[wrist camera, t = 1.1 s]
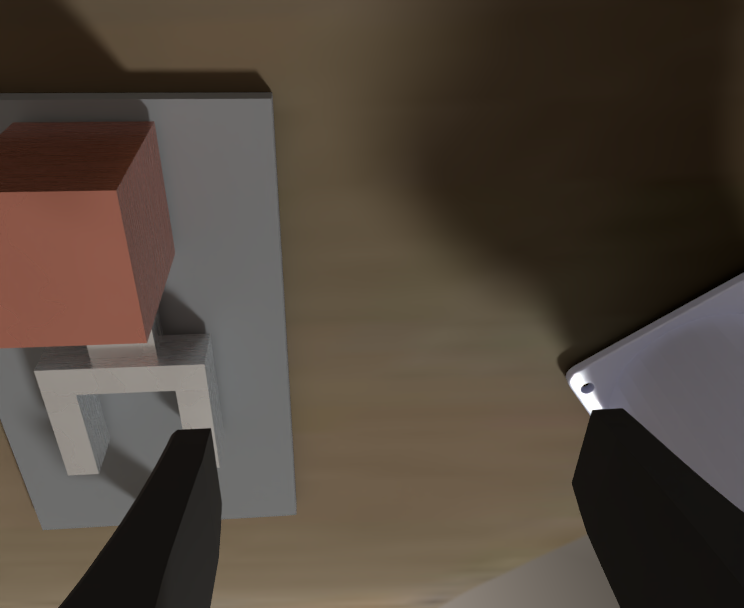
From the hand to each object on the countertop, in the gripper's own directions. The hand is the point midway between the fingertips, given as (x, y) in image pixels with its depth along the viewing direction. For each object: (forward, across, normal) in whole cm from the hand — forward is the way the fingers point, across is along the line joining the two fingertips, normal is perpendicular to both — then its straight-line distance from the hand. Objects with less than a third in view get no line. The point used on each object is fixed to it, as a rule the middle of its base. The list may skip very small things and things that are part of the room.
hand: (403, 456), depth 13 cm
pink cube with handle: (+9, +7, +2) cm, 12 cm away
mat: (+10, +8, +4) cm, 13 cm away
